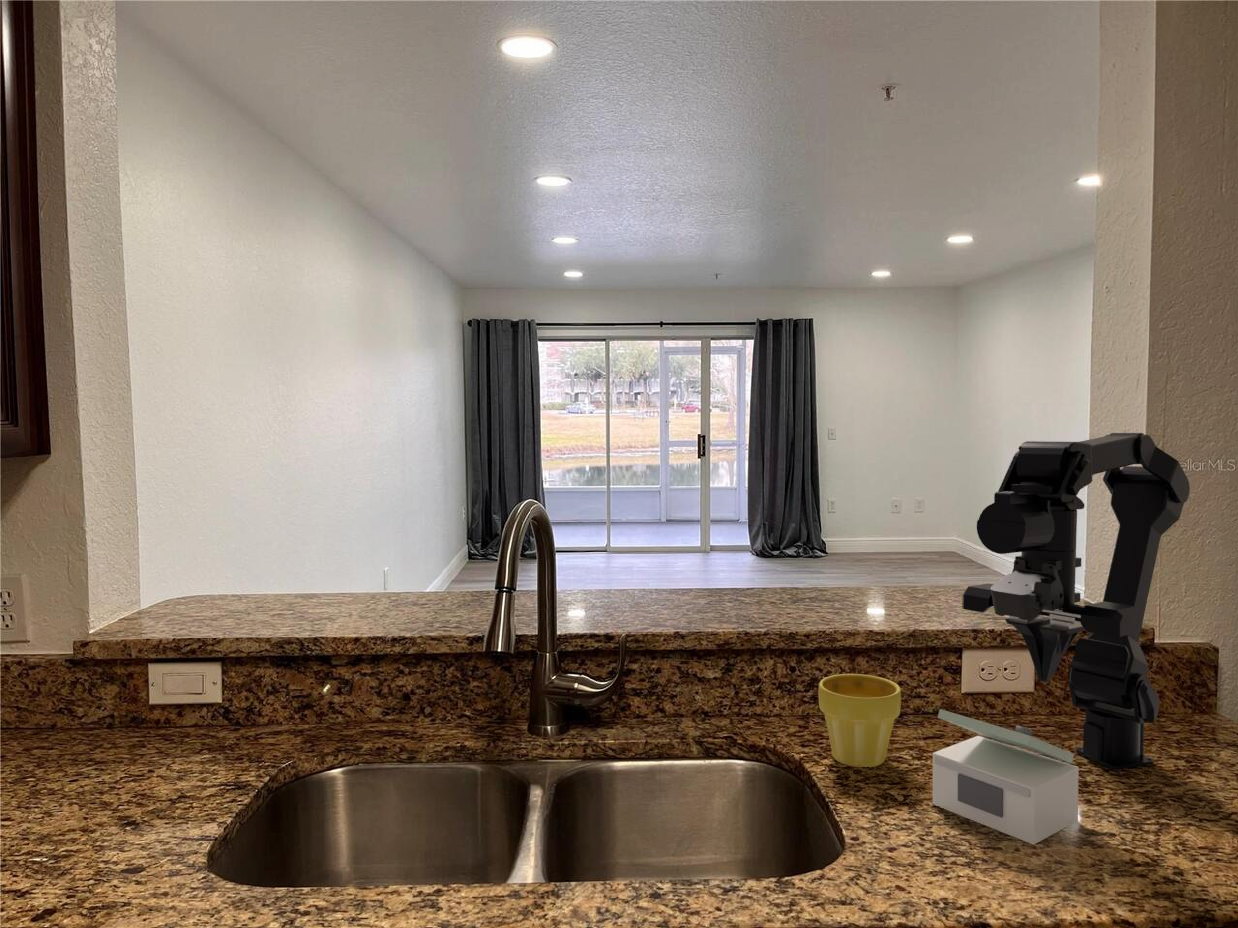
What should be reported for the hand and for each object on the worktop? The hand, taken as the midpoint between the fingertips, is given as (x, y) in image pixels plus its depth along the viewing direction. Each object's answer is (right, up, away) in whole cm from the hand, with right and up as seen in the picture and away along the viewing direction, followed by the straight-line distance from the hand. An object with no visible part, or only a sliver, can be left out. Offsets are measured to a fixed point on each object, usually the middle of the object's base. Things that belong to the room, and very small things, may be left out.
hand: (1044, 681), depth 102 cm
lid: (-7, -5, -5) cm, 10 cm away
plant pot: (-18, -13, +12) cm, 26 cm away
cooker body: (-7, -14, -4) cm, 16 cm away
